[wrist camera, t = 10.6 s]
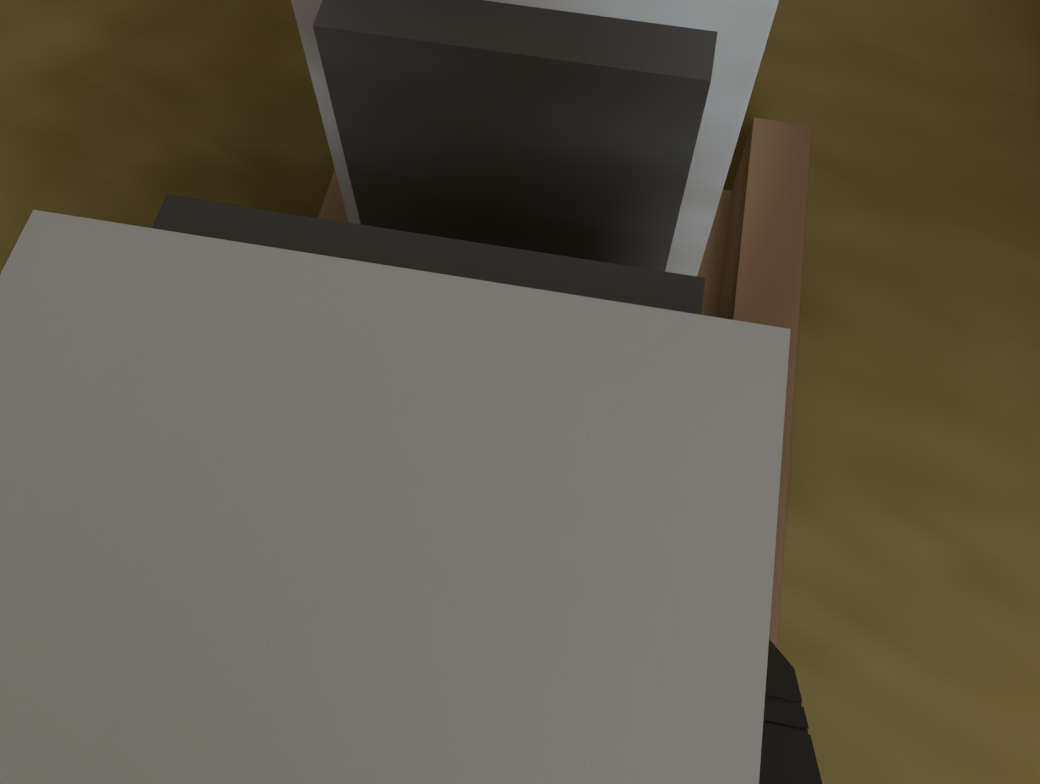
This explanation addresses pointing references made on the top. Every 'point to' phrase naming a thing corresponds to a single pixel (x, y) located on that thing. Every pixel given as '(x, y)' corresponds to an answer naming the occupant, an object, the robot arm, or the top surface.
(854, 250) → the top surface
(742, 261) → the brown wooden slotted rack
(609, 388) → the finger blank
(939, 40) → the top surface
